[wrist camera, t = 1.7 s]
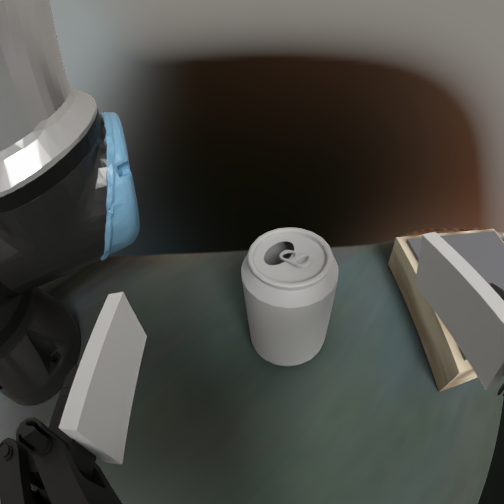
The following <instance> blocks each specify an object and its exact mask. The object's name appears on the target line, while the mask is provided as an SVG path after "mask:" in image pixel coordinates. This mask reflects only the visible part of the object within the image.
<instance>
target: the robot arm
mask: <svg viewBox="0 0 504 504" xmlns="http://www.w3.org/2000/svg"><path fill="white" fill-rule="evenodd" d="M129 168H130V164H129V159H128V151H127V146H126V141H125V137H124V132H123V128H122V125H121V121H120V119H119V116H118V115H117V114H116V113H113V112H111V113H106V112H105V113H104V112H103V113H101V114H100V115H99V113H98V109H97V105H96V102H95V100H94V99H93V97H92V96H91V95H89V94H87V93H84V92H81V91H79V90H76V89H73V88H71V87H70V86H69V84H68V80H67V77H66V73H65V69H64V66H63V62H62V58H61V54H60V50H59V46H58V41H57V37H56V32H55V27H54V23H53V18H52V12H51V6H50V0H0V392H1V393H3V394H4V395H5V396H7V397H8V398H10V399H11V400H13V401H14V402H16V403H18V404H22V405H36V404H39V403H42V402H44V401H46V400H48V399H50V398H51V397H52V396H54V395H55V394H56V393H57V392H58V391H59V390H60V389H61V388H62V387H63V389H61V392H60V395H59V396H60V398H58V401H57V404H56V407H55V410H54V413H53V416H52V419H51V422H50V426H49V428H47V427H46V426H45V425H44V424H43V423H42V422H40V421H39V420H38V419H36V418H28V419H26V420H24V421H23V422H22V423H21V424H20V426H19V427H18V429H17V433H16V441H15V440H13V439H11V438H6V439H5V440H3V441H2V442H1V443H0V500H1V504H122V503H121V501H120V500H119V498H118V497H117V495H116V494H115V492H114V490H113V489H112V487H111V486H110V484H109V482H108V481H107V479H106V478H105V476H104V474H103V472H102V471H101V469H100V467H99V466H98V465H97V464H96V463H95V461H96V457H98V458H99V459H101V460H102V461H104V462H105V463H113V464H122V463H123V456H124V449H125V443H126V437H127V431H128V425H129V419H130V413H131V408H132V403H133V398H134V392H135V387H136V383H137V378H138V373H139V369H140V364H141V360H142V355H143V351H144V346H145V342H146V338H147V335H146V333H145V332H144V330H143V328H142V326H141V325H140V323H139V321H138V319H137V317H136V315H135V313H134V312H133V310H132V308H131V306H130V304H129V302H128V300H127V298H126V296H125V294H124V292H119V293H113V294H109V295H108V297H107V299H106V301H105V303H104V306H103V308H102V310H101V312H100V315H99V317H98V319H97V322H96V324H95V327H94V329H93V331H92V334H91V336H90V339H89V341H88V344H87V346H86V349H85V351H84V354H83V357H82V359H81V362H80V365H79V366H75V365H76V362H77V359H78V355H79V350H80V331H79V327H78V324H77V322H76V320H75V318H74V317H73V315H72V314H71V313H70V312H69V310H68V309H67V308H66V307H65V305H64V304H62V303H61V302H60V301H59V300H57V299H56V298H54V297H52V296H51V295H49V294H48V293H46V292H45V291H43V290H42V289H40V288H39V287H38V286H40V285H42V284H45V283H47V282H49V281H52V280H54V279H56V278H59V277H61V276H64V275H66V274H68V273H71V272H73V271H76V270H78V269H80V268H83V267H85V266H88V265H90V264H93V263H95V262H98V261H103V260H105V259H106V258H107V257H108V256H109V255H111V254H112V253H114V252H117V251H119V250H121V249H123V248H125V247H127V246H129V245H130V244H132V243H133V242H134V241H135V239H136V238H137V236H138V233H139V229H140V220H139V211H138V204H137V198H136V193H135V187H134V183H133V178H132V173H131V171H130V169H129ZM415 285H416V286H417V288H418V289H419V290H420V292H421V293H422V294H423V296H424V297H425V299H426V300H427V301H428V303H429V304H430V305H431V307H432V308H433V309H434V311H435V312H436V314H437V315H438V317H439V318H440V319H441V321H442V322H443V324H444V325H445V327H446V328H447V330H448V331H449V332H450V334H451V335H452V337H453V338H454V340H455V341H456V343H457V344H458V346H459V348H460V349H461V351H462V352H463V354H464V355H465V357H466V359H467V360H468V362H469V363H470V365H471V367H472V368H473V370H474V371H475V373H476V375H477V377H478V378H479V380H480V382H481V383H482V385H483V387H484V389H485V390H486V389H487V388H489V387H491V386H492V385H494V384H496V383H497V382H499V381H500V379H501V378H502V376H503V375H504V291H503V290H502V289H501V288H500V287H498V286H496V285H495V284H493V283H490V284H488V283H487V282H486V281H485V280H484V279H483V278H482V276H481V275H480V274H479V273H478V272H477V271H476V270H475V269H474V268H473V267H472V266H471V265H470V264H469V263H468V262H467V261H466V260H465V259H464V258H463V257H462V256H461V255H460V254H459V253H458V252H457V251H455V250H454V249H453V248H452V247H451V246H450V245H449V244H448V243H447V242H446V241H445V240H444V239H443V238H442V237H440V236H439V235H438V234H437V233H436V232H432V233H427V234H422V239H421V247H420V254H419V261H418V267H417V273H416V279H415ZM503 390H504V384H503V385H502V386H501V388H500V389H499V391H498V394H497V395H500V394H501V392H502V391H503ZM503 396H504V394H503ZM30 483H31V484H32V485H34V488H35V489H34V491H32V490H31V485H30ZM478 504H504V400H503V407H502V414H501V420H500V426H499V431H498V436H497V441H496V445H495V450H494V454H493V458H492V462H491V465H490V469H489V472H488V476H487V479H486V482H485V485H484V488H483V491H482V494H481V497H480V500H479V503H478Z"/></svg>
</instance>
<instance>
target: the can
mask: <svg viewBox="0 0 504 504" xmlns="http://www.w3.org/2000/svg"><path fill="white" fill-rule="evenodd" d="M241 275H242V284H243V291H244V297H245V304H246V311H247V317H248V324H249V330H250V336H251V342H252V344H253V346H254V348H255V350H256V352H257V353H258V354H259V355H260V356H261V357H262V358H263V359H265V360H267V361H269V362H271V363H273V364H275V365H282V366H293V365H300V364H302V363H304V362H306V361H309V360H311V359H312V358H313V357H314V356H315V355H316V354H317V353H318V352H319V351H320V349H321V347H322V345H323V343H324V340H325V336H326V332H327V327H328V323H329V319H330V314H331V310H332V305H333V301H334V296H335V291H336V287H337V282H338V265H337V263H336V260H335V257H334V256H333V254H332V251H331V249H330V246H329V245H328V244H327V243H326V242H325V240H324V239H323V238H321V237H320V236H318V235H317V234H315V233H313V232H311V231H307V230H304V229H300V228H291V227H289V228H279V229H276V230H272V231H269V232H266V233H265V234H263V235H261V236H260V237H258V238H257V239H256V240H255V241H254V242H253V244H252V245H251V246H250V249H249V252H248V254H247V255H246V257H245V258H244V261H243V264H242V267H241Z"/></svg>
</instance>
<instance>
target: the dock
mask: <svg viewBox="0 0 504 504" xmlns="http://www.w3.org/2000/svg"><path fill="white" fill-rule="evenodd" d="M438 235H439V236H440V237H442V238H443V239H444V240H445V241H446V242H447V243H448V244H449V245H450V246H451V247H452V248H453V249H454V250H455V251H457V252H458V253H459V254H460V255H461V256H462V257H463V258H464V259H465V260H466V261H467V262H468V263H469V264H470V265H471V266H472V267H473V268H474V269H475V270H476V271H477V272H478V273H479V274H480V275H481V276H482V278H483V279H484V280H485V281H486V282H487V283H488V284H490V283H493V284H495V285H496V286H498V287H500V288H501V289H502V290H503V291H504V242H503V240H502V239H501V238H500V236H499V235H498V234H497V232H496V231H495V230H494V229H486V230H474V231H463V232H451V233H440V234H438ZM421 239H422V235H417V236H405V237H396V240H395V243H394V246H393V249H392V253H391V256H390V259H389V262H388V265H389V267H390V269H391V271H392V274H393V276H394V278H395V280H396V282H397V285H398V287H399V289H400V291H401V293H402V296H403V298H404V300H405V303H406V305H407V307H408V310H409V312H410V314H411V317H412V319H413V322H414V324H415V327H416V329H417V332H418V334H419V337H420V340H421V342H422V345H423V348H424V350H425V353H426V356H427V359H428V361H429V364H430V367H431V370H432V373H433V376H434V379H435V382H436V385H437V388H438V391H439V392H440V391H443V390H446V389H449V388H451V387H454V386H457V385H459V384H462V383H464V382H467V381H469V380H472V379H474V378H477V375H476V373H475V371H474V370H473V368H472V367H471V365H470V363H469V362H468V360H467V359H466V357H465V355H464V354H463V352H462V351H461V349H460V348H459V346H458V344H457V343H456V341H455V340H454V338H453V337H452V335H451V334H450V332H449V331H448V330H447V328H446V327H445V325H444V324H443V322H442V321H441V319H440V318H439V317H438V315H437V314H436V312H435V311H434V309H433V308H432V307H431V305H430V304H429V303H428V301H427V300H426V299H425V297H424V296H423V294H422V293H421V292H420V290H419V289H418V288H417V286H416V285H415V279H416V273H417V267H418V261H419V254H420V247H421Z"/></svg>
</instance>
